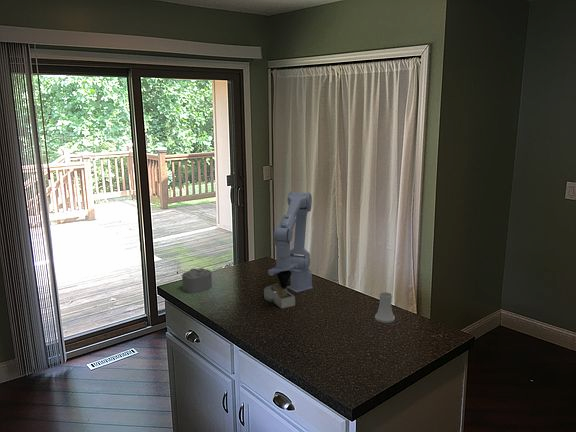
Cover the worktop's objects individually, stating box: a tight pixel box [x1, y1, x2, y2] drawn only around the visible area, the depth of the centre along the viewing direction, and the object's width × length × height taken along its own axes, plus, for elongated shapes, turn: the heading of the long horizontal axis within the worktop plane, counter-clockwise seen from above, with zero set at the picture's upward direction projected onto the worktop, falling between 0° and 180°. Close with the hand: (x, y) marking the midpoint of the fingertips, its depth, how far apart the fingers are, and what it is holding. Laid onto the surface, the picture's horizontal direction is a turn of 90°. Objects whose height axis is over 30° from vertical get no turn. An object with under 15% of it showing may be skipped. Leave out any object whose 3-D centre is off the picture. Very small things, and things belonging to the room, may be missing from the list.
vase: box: [374, 292, 396, 324], centre depth 182 cm, size 8×8×10 cm
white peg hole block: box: [263, 284, 296, 309], centre depth 201 cm, size 16×10×5 cm, turn 29°
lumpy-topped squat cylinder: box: [181, 267, 213, 295], centre depth 217 cm, size 10×13×9 cm
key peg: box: [272, 282, 290, 298], centre depth 196 cm, size 3×3×8 cm
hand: (283, 288), depth 195 cm, fingers closed, pressing on key peg
